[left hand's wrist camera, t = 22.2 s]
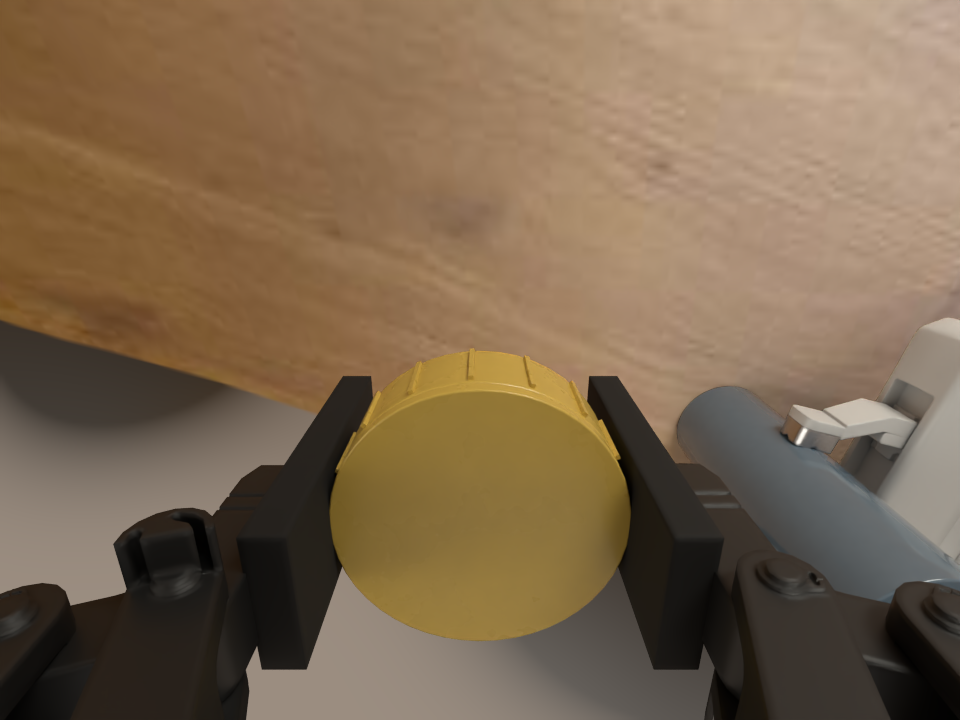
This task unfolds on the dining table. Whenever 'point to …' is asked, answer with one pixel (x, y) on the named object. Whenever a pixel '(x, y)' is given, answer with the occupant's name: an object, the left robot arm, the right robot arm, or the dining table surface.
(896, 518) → the jar
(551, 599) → the lid
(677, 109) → the dining table surface
